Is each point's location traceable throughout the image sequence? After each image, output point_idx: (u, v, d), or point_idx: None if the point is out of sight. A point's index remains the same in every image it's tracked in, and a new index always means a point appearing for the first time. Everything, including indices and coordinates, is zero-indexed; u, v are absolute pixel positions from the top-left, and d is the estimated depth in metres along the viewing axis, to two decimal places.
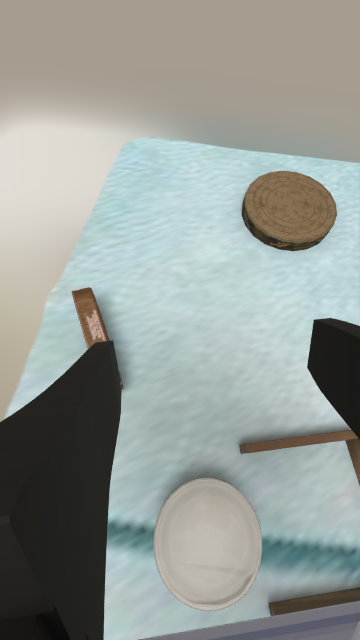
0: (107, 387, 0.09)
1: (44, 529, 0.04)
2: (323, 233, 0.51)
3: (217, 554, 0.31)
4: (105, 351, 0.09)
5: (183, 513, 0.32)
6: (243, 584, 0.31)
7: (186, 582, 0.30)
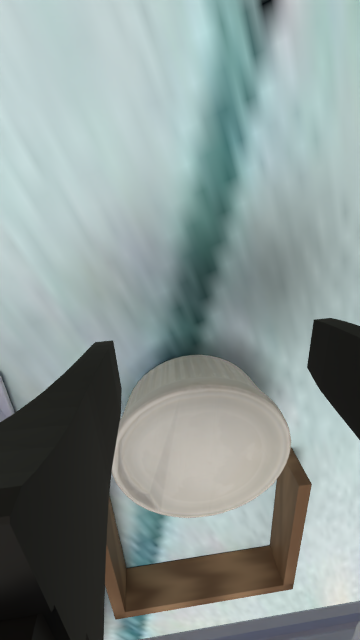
0: (107, 387, 0.09)
1: (44, 529, 0.04)
2: None
3: (183, 471, 0.19)
4: (105, 351, 0.09)
5: (247, 427, 0.18)
6: (141, 493, 0.20)
7: (146, 430, 0.18)
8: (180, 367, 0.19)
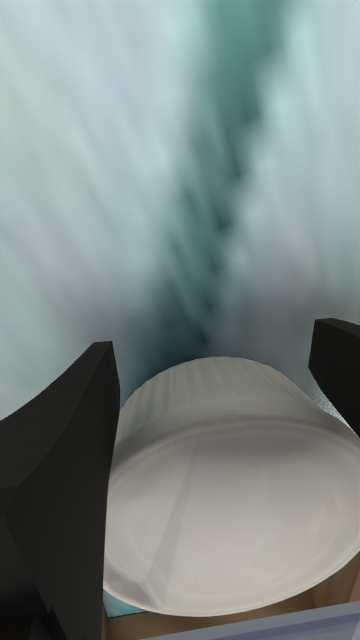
0: (106, 387, 0.09)
1: (41, 529, 0.04)
2: None
3: (201, 555, 0.11)
4: (104, 351, 0.09)
5: (315, 485, 0.10)
6: (131, 582, 0.13)
7: (137, 492, 0.10)
8: (196, 377, 0.12)
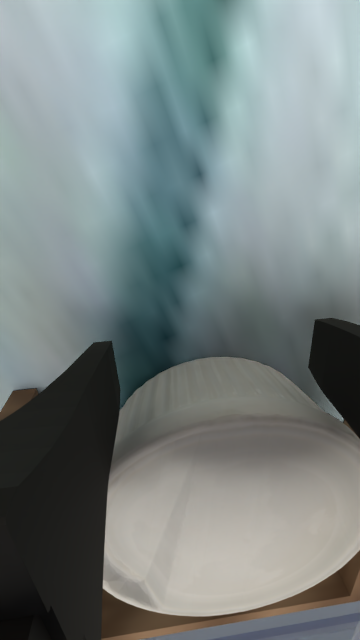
0: (105, 387, 0.09)
1: (40, 530, 0.04)
2: None
3: (201, 555, 0.11)
4: (104, 351, 0.09)
5: (315, 485, 0.10)
6: (131, 581, 0.13)
7: (138, 491, 0.10)
8: (197, 377, 0.12)
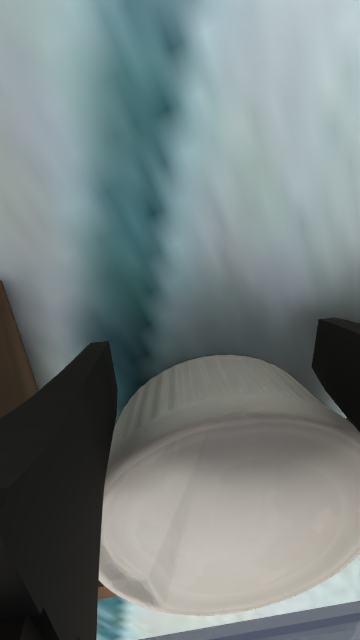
0: (102, 388, 0.09)
1: (33, 531, 0.04)
2: None
3: (205, 553, 0.11)
4: (100, 352, 0.09)
5: (321, 483, 0.10)
6: (134, 580, 0.12)
7: (143, 489, 0.10)
8: (202, 375, 0.11)
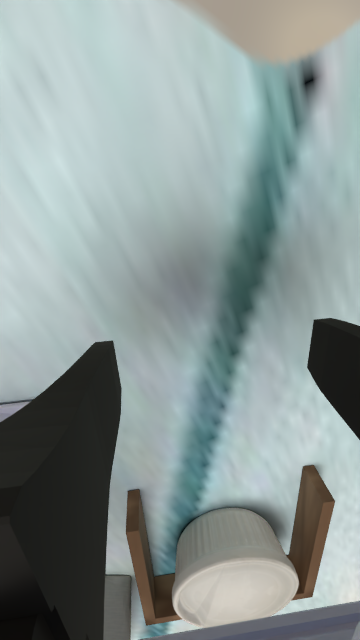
0: (107, 387, 0.09)
1: (44, 529, 0.04)
2: None
3: (222, 604, 0.27)
4: (105, 351, 0.09)
5: (268, 578, 0.26)
6: (190, 613, 0.28)
7: (199, 581, 0.26)
8: (221, 528, 0.27)
